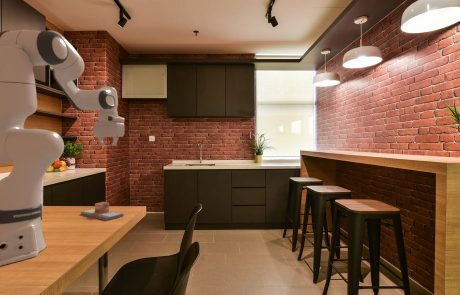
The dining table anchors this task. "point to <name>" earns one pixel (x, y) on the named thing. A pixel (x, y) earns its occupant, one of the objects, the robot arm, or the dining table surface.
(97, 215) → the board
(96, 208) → the terracotta cube
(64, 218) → the dining table surface
